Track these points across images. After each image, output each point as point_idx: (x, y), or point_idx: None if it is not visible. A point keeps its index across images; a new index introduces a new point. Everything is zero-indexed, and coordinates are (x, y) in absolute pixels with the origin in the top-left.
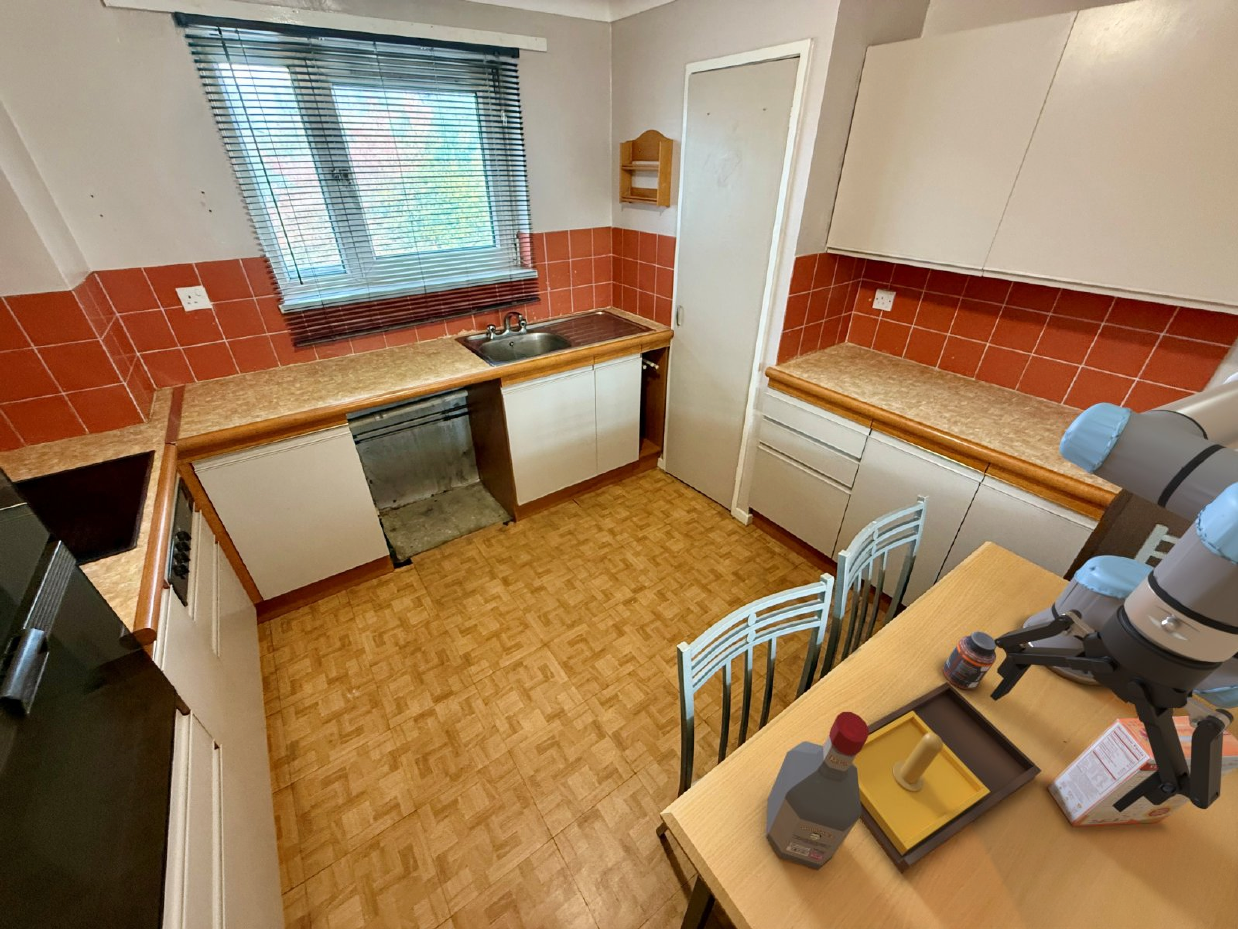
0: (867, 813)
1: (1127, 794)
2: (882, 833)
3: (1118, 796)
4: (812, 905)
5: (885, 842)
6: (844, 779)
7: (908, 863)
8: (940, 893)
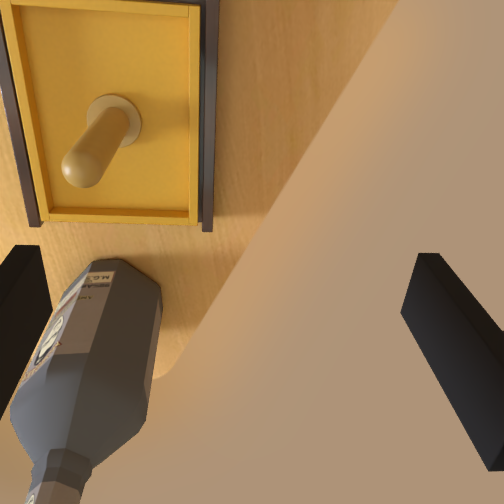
0: None
1: (430, 365)
2: None
3: None
4: (186, 322)
5: None
6: (90, 461)
7: (209, 230)
8: (251, 189)
